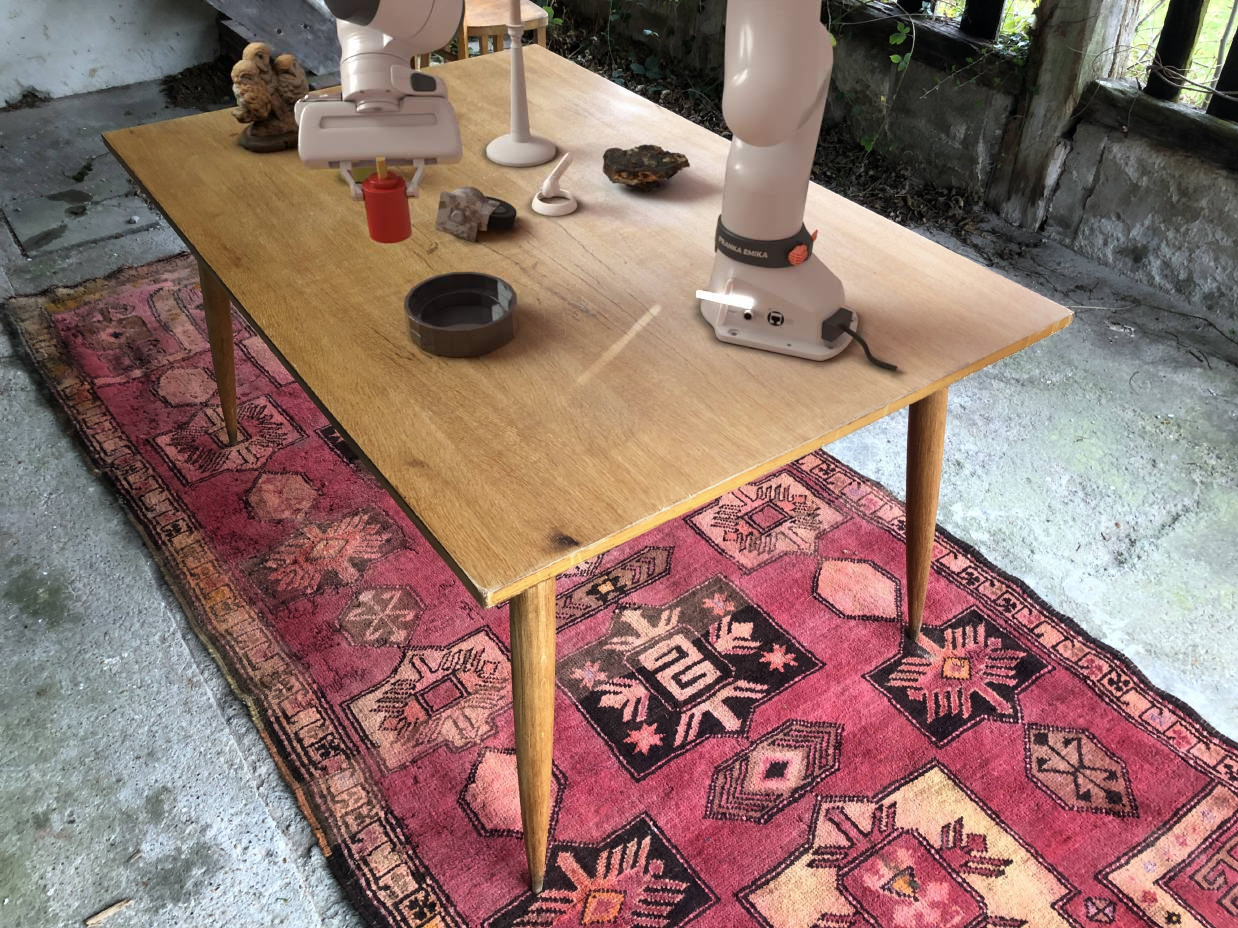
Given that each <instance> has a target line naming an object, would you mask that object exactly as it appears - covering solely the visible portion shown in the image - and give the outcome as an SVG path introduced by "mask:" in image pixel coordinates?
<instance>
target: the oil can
mask: <svg viewBox="0 0 1238 928" xmlns="http://www.w3.org/2000/svg"><path fill="white" fill-rule="evenodd" d="M376 165H377V172H375V173H373V174H371V175H370V176H369V178H367V179H365V180H364V181H363V182H361V184H362V188H363V194H364V201H363V202H364V208H365V214H366V220H367V227H368V234H369V237H370V239H371V240H373V241H374V242H376V243H379V244H387V245H388V244H397V243H401V242H404V241H406V240H407V239H409V238H410V237H411V236H412V234H413V229H412V222H411V214H410V205H409V199H407V195H406V190H407V189H406V183H405V182H407V181H406V180H405V178H404V177H402V176H400V175H398V174H397V173H396V172H394V171H388V167H387V165H386V158H385V157H377V158H376Z"/></svg>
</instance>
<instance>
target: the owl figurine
mask: <svg viewBox="0 0 1238 928" xmlns="http://www.w3.org/2000/svg"><path fill="white" fill-rule="evenodd" d="M270 49H271V48H270V47H269V46H268V45H267V44H265V43H264V42H251V43H248V44H247V46H246V47H245V48H244V50H243V52H242V60H239V61H238V62H237V63H235V65H233V67H232V70H231V73H230V76H231V79H232V82H233V85H232V91H233V93H234V96H235V98H236V104H237V107H235V108H234V109H233V110H231V111H230V115H231V116H232V117H234V118H235V119H236V121H237V123H239V124H242V125H243V124H245V125H246V124H247V125H246V126H245V127H244V128H243V130H241V132H240V133H238V136H237V142H238V144H239V146H240V147H242V148H247V149H249V150H250V151H254V152H261V153H262V152H263V153H269V152H276V151H279V150H284V149H286V146H287V147H288V148H294V147H297V146H298V137H299V127H298V125H297V124H296V122H295V112H294V108H295V104H296V103H297V102H298V100H300V99H301V98H304V97H305V96H306V95H307V94H310V87H309V82H308V79H307V74H306V72H305V69H303V67H301V65H300V62H299V61H298V59H297V58H296V57H295V56H294V55H292V54H285V53H284V54H282V55H279V56H278V57H277V58H276V59H275V60H274V61H273V64H272V65H271V63H270V55H271V50H270ZM303 102H306V101H303ZM285 142H286V143H287V145H286V143H285Z"/></svg>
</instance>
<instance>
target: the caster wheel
mask: <svg viewBox="0 0 1238 928" xmlns="http://www.w3.org/2000/svg"><path fill="white" fill-rule="evenodd" d="M517 214H518V211H517V209H516V208H515V207H514V205H512V204H511V203H510V202H508V201H505V200H503V199H500V198H497V197H493V196H487V195H485V194H484V193H483V192H482V191H481V190H479V188H477V187H474V186H463V187H460V188H457V189H455V190H454V191H452V192H450V191H447V190H444V189H443V190H440V195H439V201H438V208H437V213H436V220H435V224H434V229H435V230H436V231H438V232H442V233H444V234H448V235H451V236H454V237H457V238H460V239H462V240H467V241H469V242H471V243H472V242H473V243H474V242H476V237H477V231H483V232H487V231H490V232H491V231H492V232H508V231H511V230H512V229H514V227H515V225H516V219H517Z"/></svg>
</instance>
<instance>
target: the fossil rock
mask: <svg viewBox="0 0 1238 928" xmlns="http://www.w3.org/2000/svg"><path fill="white" fill-rule="evenodd" d="M602 160H603V164H602V173H603V174H604V175H605V176H606V177H607V179H609V181H610V182H611V183H612V184H619V185H620V184H621V185H625V186H626V187H627V188H629V189H631V190H635V191H639V192H644V193H651V192H652V191H654V190H655V189H656V188H661V187H662V183H661V182H660V180H666V181H669V180H671V179H672V178H674V177H675V176H676V175H678V173H679V171H683V169H684V168H690V167H691V164H690V162H689V159H688V158H687V157H686V155H685V154H684V153H680V152H671V151H669V150H664V148H662V146H658V145H656V144H641V145H638V146H634V147H632V148H629V149H623V148H621V147H610V148H607V149H606V150H605V151H604V152H603V155H602Z"/></svg>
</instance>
